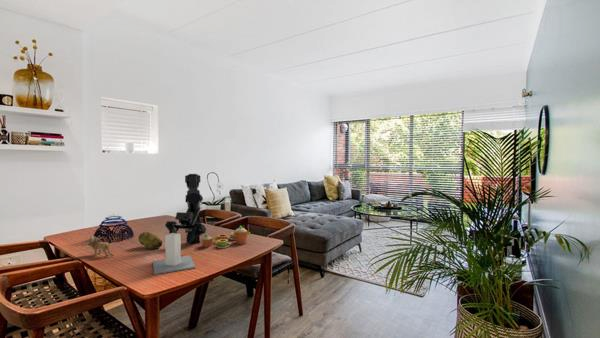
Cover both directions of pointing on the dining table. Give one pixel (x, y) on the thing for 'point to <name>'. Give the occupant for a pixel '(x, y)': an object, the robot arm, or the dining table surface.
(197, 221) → the robot arm
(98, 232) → the decorative bowl
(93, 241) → the lion figurine
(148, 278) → the dining table surface
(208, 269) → the dining table surface
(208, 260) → the dining table surface
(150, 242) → the potato
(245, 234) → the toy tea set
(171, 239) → the tall block
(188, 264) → the rubber mat
